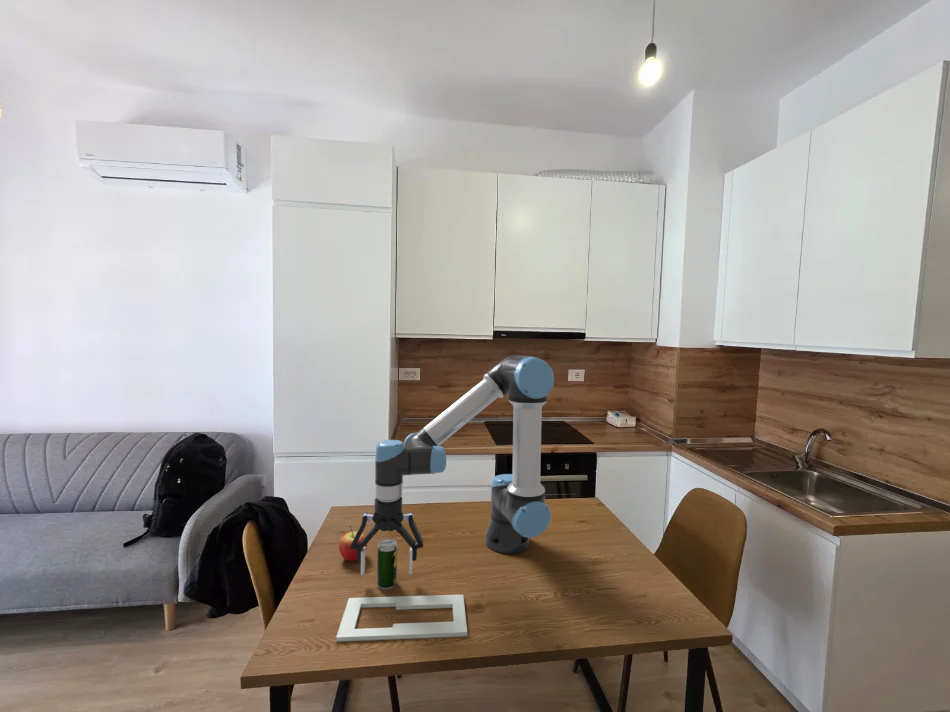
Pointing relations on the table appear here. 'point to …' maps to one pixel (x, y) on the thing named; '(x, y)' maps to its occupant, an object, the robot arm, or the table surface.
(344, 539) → the apple
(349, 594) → the table surface
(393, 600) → the keyhole board
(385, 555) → the beer can
